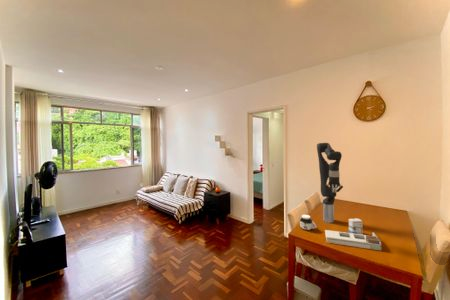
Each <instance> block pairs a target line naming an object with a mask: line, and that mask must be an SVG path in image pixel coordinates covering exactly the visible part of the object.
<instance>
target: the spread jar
mask: <svg viewBox="0 0 450 300" xmlns="http://www.w3.org/2000/svg"><path fill="white" fill-rule="evenodd" d="M299 226H300V228H301V229H302V230H303V229H304V230H303V231H306V230H309V231H311V230H312V229H316V228H317V224H316V223H315V222H314V221H313V220H312V218H311V216H310V215H309V214H302V215H301V218H300V219H299Z"/></svg>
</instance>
